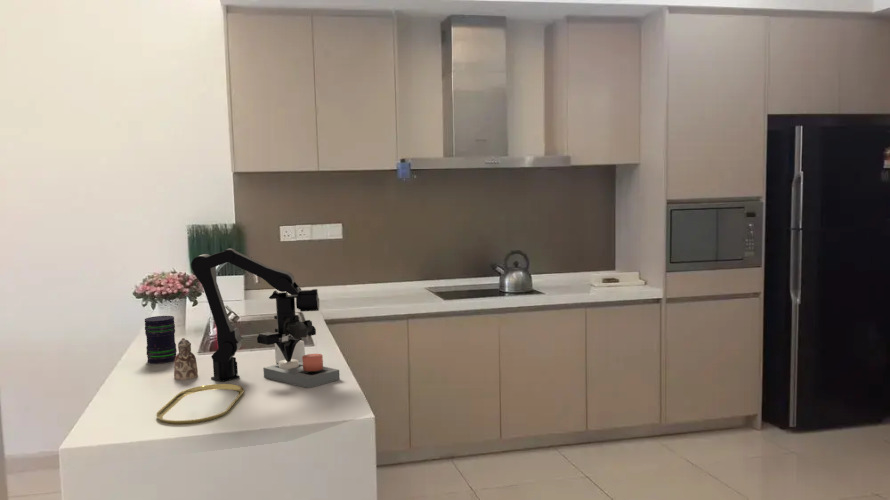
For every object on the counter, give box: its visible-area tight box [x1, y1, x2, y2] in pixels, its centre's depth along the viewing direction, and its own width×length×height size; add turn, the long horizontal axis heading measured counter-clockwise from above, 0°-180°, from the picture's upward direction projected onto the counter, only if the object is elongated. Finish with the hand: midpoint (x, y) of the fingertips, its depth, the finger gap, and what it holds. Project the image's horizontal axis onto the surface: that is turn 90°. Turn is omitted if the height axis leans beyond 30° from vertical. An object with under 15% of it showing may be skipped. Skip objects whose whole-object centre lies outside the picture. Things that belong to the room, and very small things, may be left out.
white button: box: [279, 359, 299, 370], centre depth 244 cm, size 6×6×4 cm
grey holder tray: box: [263, 361, 341, 389], centre depth 240 cm, size 12×22×3 cm, turn 48°
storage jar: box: [144, 315, 178, 365], centre depth 270 cm, size 10×10×15 cm
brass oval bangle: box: [155, 383, 245, 425], centre depth 215 cm, size 19×35×2 cm, turn 2°
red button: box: [302, 353, 324, 371], centre depth 235 cm, size 6×6×4 cm
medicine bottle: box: [274, 340, 306, 364], centre depth 261 cm, size 7×7×12 cm
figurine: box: [173, 337, 199, 380], centre depth 247 cm, size 7×7×12 cm
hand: (288, 361), depth 244 cm, fingers closed, pressing on white button
